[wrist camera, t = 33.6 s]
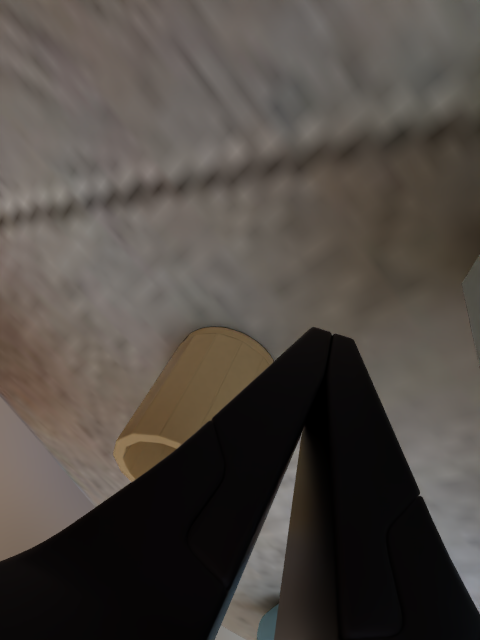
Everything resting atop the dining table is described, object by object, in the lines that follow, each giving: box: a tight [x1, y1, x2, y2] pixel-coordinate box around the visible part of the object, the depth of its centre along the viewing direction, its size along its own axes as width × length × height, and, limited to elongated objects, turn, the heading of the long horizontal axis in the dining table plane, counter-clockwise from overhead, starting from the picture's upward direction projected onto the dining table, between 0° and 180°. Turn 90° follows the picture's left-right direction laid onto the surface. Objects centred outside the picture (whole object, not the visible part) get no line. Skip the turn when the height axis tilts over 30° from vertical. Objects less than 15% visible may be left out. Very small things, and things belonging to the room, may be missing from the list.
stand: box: [113, 327, 274, 482], centre depth 19 cm, size 6×6×7 cm
